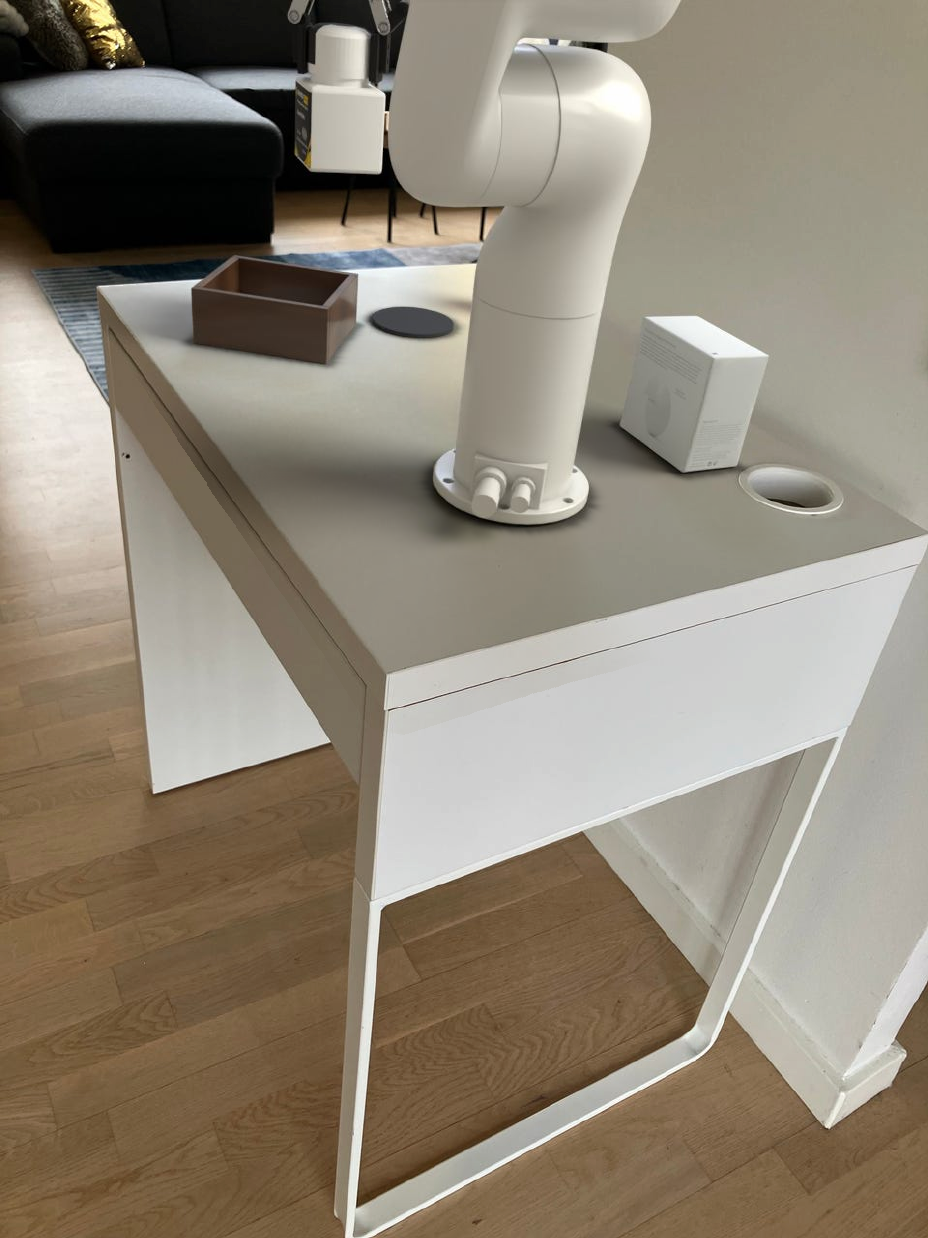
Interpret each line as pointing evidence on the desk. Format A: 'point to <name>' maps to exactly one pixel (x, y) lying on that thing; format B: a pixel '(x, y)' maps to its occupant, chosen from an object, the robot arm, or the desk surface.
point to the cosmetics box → (692, 392)
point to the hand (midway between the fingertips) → (340, 74)
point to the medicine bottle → (339, 103)
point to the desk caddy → (275, 308)
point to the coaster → (413, 322)
